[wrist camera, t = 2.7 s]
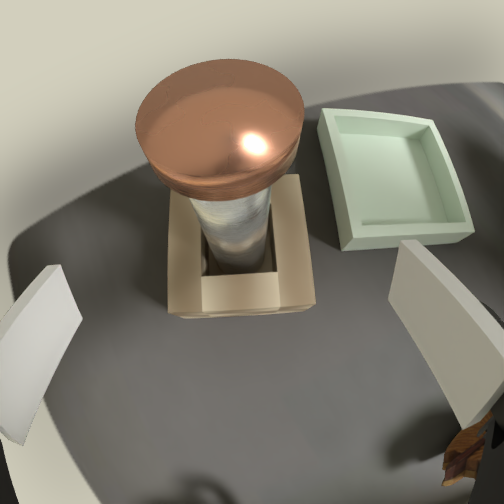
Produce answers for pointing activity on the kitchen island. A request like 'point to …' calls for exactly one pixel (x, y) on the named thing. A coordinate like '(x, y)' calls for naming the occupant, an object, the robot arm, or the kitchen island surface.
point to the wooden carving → (465, 453)
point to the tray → (390, 180)
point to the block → (241, 285)
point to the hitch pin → (224, 149)
